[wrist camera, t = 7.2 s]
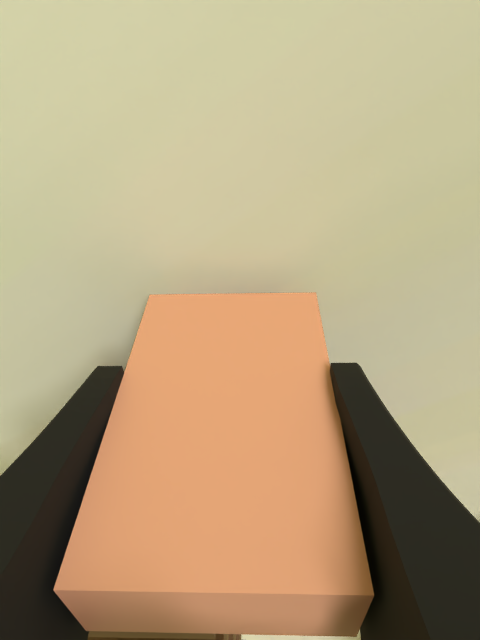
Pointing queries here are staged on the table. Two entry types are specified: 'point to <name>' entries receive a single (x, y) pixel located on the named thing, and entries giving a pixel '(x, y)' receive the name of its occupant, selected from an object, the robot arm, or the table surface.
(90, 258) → the table surface
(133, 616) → the domino
